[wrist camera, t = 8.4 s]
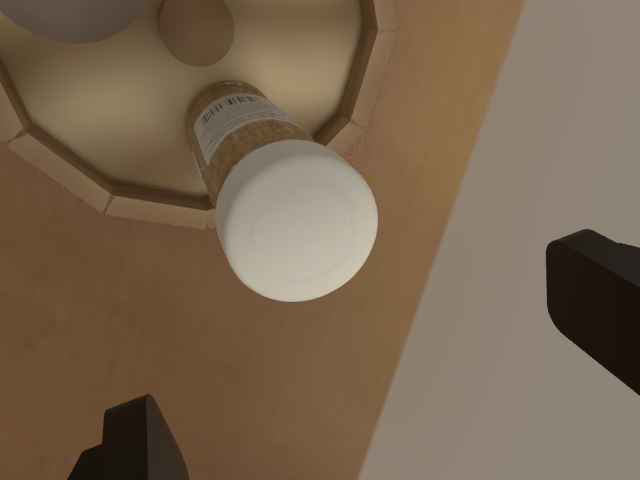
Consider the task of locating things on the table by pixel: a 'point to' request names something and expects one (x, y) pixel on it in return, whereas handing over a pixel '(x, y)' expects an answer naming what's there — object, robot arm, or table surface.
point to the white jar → (73, 17)
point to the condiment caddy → (184, 92)
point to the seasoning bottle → (278, 195)
